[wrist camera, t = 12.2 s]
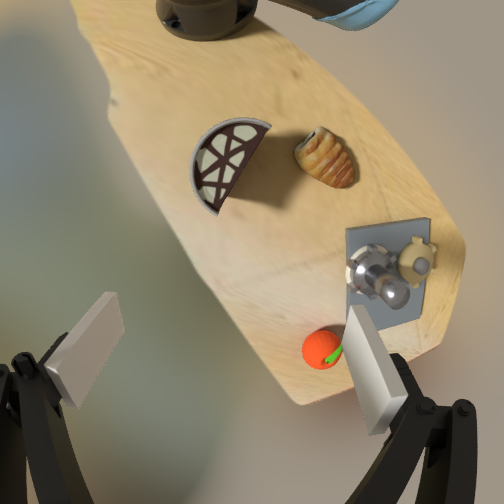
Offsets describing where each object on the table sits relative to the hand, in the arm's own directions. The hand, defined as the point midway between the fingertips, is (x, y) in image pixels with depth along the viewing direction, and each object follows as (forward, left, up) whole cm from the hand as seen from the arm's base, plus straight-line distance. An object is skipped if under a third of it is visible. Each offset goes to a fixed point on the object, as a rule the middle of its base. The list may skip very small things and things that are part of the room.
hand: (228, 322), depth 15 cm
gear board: (+14, +25, -27) cm, 40 cm away
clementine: (+24, +12, -28) cm, 38 cm away
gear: (+11, +21, -26) cm, 35 cm away
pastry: (-7, +15, -28) cm, 32 cm away
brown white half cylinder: (-9, 0, -28) cm, 29 cm away
